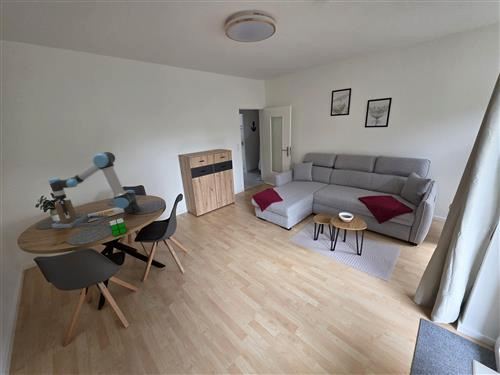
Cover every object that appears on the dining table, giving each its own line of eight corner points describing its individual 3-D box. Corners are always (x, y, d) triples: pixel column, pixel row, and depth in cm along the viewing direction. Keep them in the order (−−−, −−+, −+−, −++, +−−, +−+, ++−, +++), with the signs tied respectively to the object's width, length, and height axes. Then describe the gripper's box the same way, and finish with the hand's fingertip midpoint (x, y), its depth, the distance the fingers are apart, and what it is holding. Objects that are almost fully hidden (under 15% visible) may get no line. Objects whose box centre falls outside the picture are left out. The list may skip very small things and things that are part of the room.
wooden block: (75, 221, 189) (68, 201, 183) (61, 224, 184) (53, 204, 178) (77, 217, 197) (70, 199, 191) (63, 220, 192) (56, 201, 186)
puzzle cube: (125, 227, 176) (122, 217, 173) (127, 232, 168) (124, 221, 165) (112, 232, 170) (108, 221, 167) (113, 236, 163) (110, 225, 160)
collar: (108, 217, 200) (108, 214, 199) (95, 225, 183) (94, 223, 182) (91, 217, 201) (90, 215, 200) (76, 226, 184) (75, 224, 183)
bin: (86, 218, 199) (85, 215, 198) (71, 227, 182) (69, 224, 181) (69, 219, 200) (68, 216, 199) (52, 228, 183) (51, 224, 182)
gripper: (54, 193, 188) (62, 214, 194) (54, 198, 171) (63, 221, 178) (64, 191, 193) (72, 211, 199) (65, 196, 176) (73, 218, 183)
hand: (68, 216), depth 189 cm, fingers closed on wooden block, 11 cm apart
